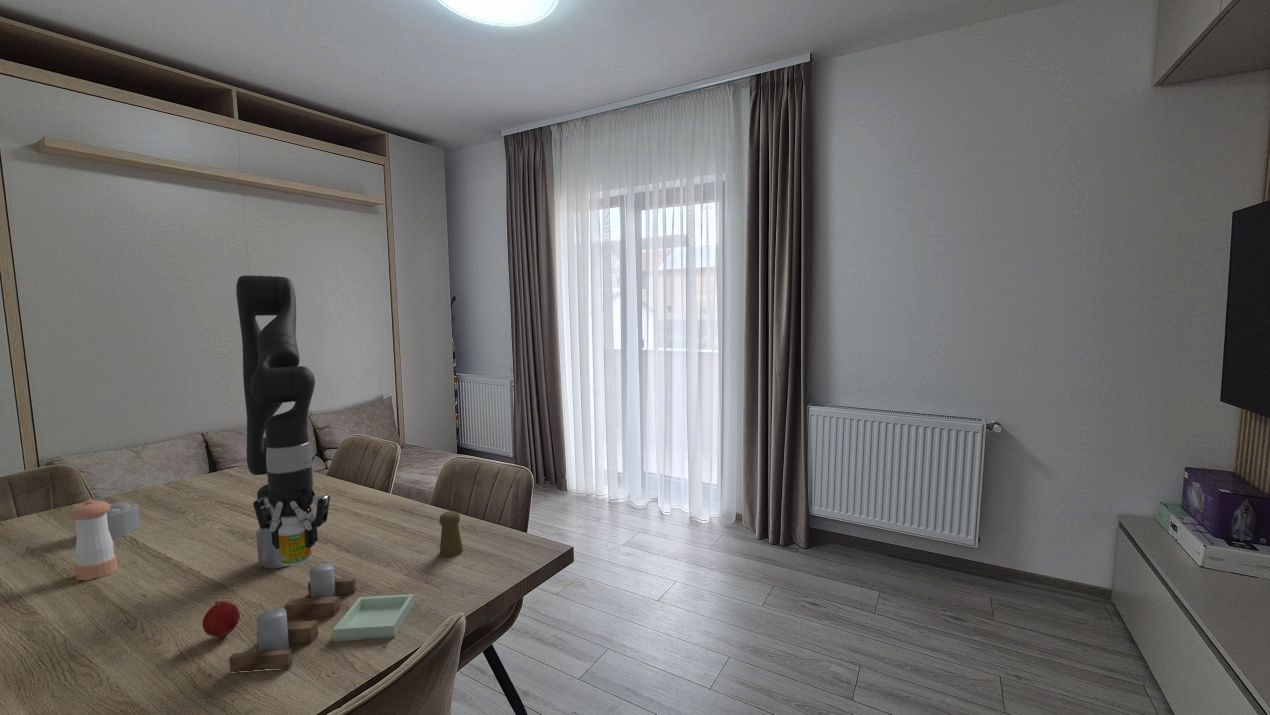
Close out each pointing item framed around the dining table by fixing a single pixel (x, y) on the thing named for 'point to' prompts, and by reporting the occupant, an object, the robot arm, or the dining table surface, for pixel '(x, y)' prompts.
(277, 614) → the front canister
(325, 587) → the cylinder
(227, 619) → the onion
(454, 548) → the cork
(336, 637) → the tray
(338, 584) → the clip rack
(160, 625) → the dining table surface
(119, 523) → the grey egg carton
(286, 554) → the supplement bottle
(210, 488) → the dining table surface
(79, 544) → the salt shaker
